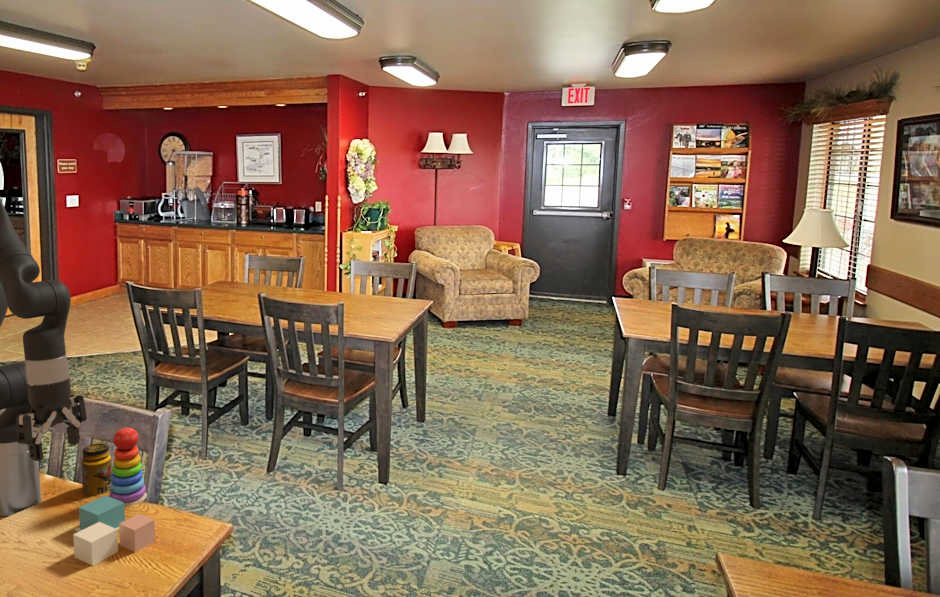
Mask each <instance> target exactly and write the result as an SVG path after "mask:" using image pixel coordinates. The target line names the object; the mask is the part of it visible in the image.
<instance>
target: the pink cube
mask: <svg viewBox="0 0 940 597" xmlns="http://www.w3.org/2000/svg"><path fill="white" fill-rule="evenodd" d="M155 526H156V525H155V519H153V518H151V517H148V516H146V515H144V514H141V513H137V514H135V515H133V516H132V517H129V518H128V519H125V521H123V522H122V523H120V524H119V530H118V531H119V535H118V536H119V546H120V547H122V548H124V549H127V550H128V551H132V552H134V553H137V552H139V551H140V550H143V549H144V548H146V547H148V546H150V545H151V544H152V543H153V544H154V543H155V542H156V527H155Z"/></svg>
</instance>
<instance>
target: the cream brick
mask: <svg viewBox="0 0 940 597" xmlns="http://www.w3.org/2000/svg"><path fill="white" fill-rule="evenodd" d="M72 536H73V552H74V553H73V555H74V558H76V559H77V560H80V561H82V562H84V563H86V564H88V565H91V566H94V565H97V564H99V563H101V562H102V561H104V560H106V559H107V558H108V559H109V557H111V556H113V555H114V554H117V553H118V552H119V544H118V543H119V541H118V540H119V537H118V536H119V535H118V530H117V529H115V528H113V527H110V526H108V525H106V524H103V523H101V522H98V523H96V524H94V525H92V526H90V527H88V528H85V529H83V530H81V531H79V532H78V531H76V532H75V533H73V535H72Z"/></svg>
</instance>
